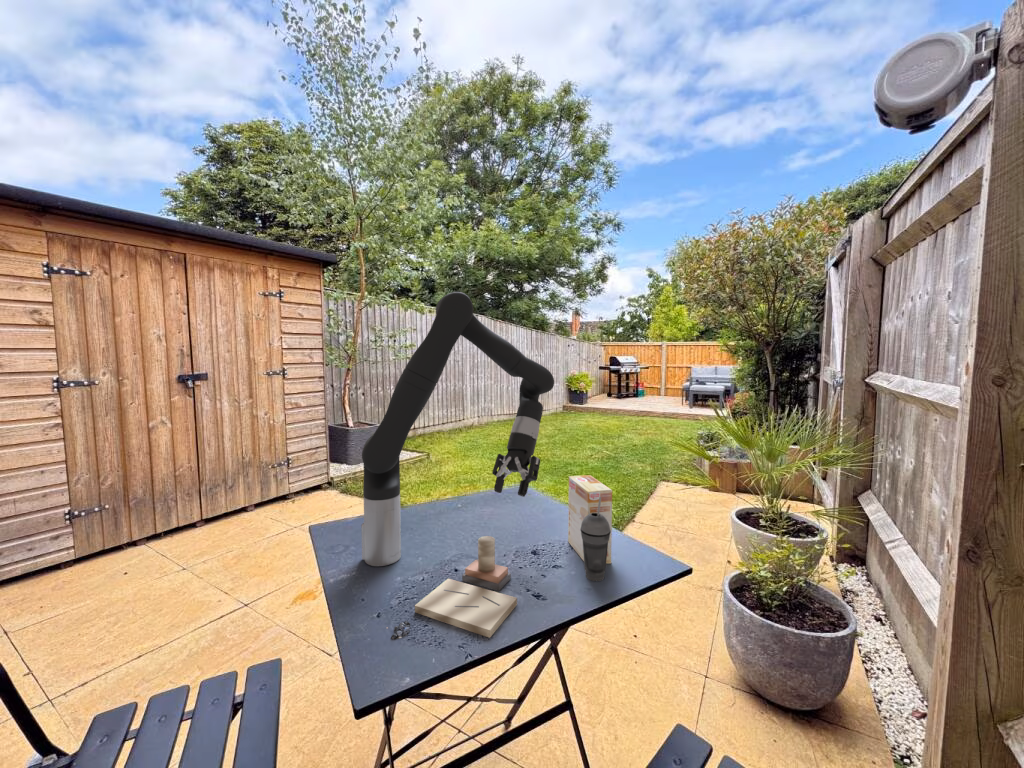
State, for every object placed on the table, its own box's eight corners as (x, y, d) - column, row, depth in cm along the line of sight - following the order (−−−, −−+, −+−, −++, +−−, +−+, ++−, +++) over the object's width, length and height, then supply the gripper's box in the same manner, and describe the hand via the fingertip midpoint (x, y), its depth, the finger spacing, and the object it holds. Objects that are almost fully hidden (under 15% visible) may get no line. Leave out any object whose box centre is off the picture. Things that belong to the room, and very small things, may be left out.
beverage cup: (588, 566, 107) (589, 489, 105) (615, 575, 102) (616, 495, 101) (574, 577, 101) (574, 496, 100) (601, 587, 96) (602, 503, 95)
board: (414, 612, 87) (414, 605, 87) (448, 584, 98) (448, 578, 98) (489, 637, 79) (489, 630, 79) (517, 604, 90) (517, 597, 90)
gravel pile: (374, 646, 78) (373, 637, 78) (392, 616, 86) (392, 608, 86) (408, 650, 77) (407, 641, 77) (423, 620, 85) (423, 611, 85)
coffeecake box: (612, 563, 108) (613, 490, 107) (586, 566, 106) (587, 491, 105) (590, 539, 122) (590, 474, 121) (567, 541, 121) (567, 475, 120)
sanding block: (462, 581, 100) (462, 540, 99) (475, 569, 105) (475, 531, 104) (499, 591, 95) (499, 548, 95) (510, 579, 100) (510, 538, 100)
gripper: (496, 430, 117) (480, 487, 112) (535, 431, 108) (520, 493, 102) (513, 440, 122) (499, 494, 116) (552, 441, 113) (538, 501, 107)
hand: (509, 494), depth 109 cm, fingers open, 8 cm apart
